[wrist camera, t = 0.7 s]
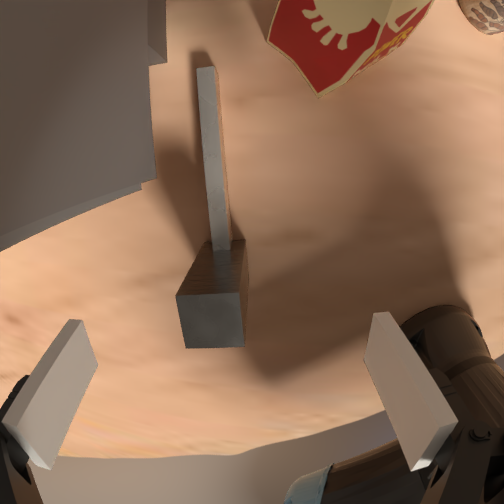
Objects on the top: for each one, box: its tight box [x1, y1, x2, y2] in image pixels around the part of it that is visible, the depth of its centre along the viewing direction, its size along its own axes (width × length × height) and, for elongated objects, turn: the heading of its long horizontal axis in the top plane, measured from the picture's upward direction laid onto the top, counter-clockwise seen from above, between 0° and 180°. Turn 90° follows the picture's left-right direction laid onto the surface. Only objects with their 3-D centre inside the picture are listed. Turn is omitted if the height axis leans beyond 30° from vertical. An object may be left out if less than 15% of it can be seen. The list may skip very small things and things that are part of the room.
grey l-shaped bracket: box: [176, 66, 249, 348], centre depth 24 cm, size 20×4×12 cm, turn 4°
